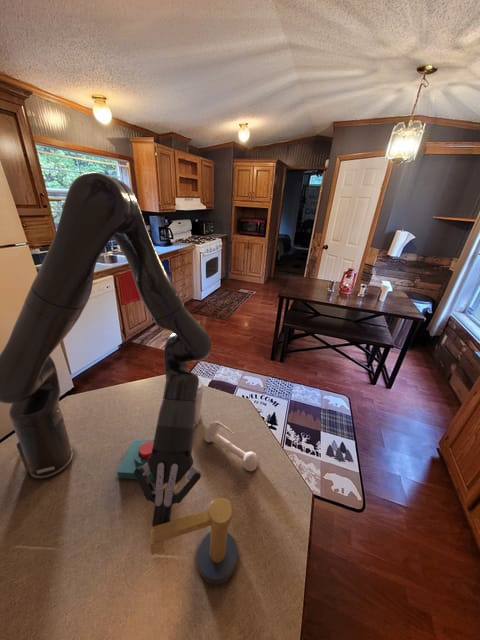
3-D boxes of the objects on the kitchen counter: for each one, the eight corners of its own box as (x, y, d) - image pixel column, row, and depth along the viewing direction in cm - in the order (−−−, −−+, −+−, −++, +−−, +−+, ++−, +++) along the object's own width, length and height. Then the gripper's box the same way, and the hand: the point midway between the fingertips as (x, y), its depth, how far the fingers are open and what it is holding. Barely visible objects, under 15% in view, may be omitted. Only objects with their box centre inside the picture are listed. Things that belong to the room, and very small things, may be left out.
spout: (227, 510, 50) (228, 495, 48) (233, 535, 46) (235, 518, 44) (151, 534, 45) (149, 518, 43) (151, 563, 41) (149, 547, 40)
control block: (118, 478, 65) (116, 467, 63) (134, 445, 74) (132, 435, 73) (165, 481, 65) (164, 470, 63) (175, 447, 74) (174, 437, 73)
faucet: (245, 482, 71) (258, 465, 66) (201, 437, 77) (210, 419, 72) (252, 471, 74) (266, 454, 69) (209, 429, 80) (218, 411, 75)
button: (137, 458, 66) (136, 454, 66) (143, 445, 70) (142, 441, 69) (152, 459, 66) (152, 455, 66) (157, 446, 70) (157, 442, 69)
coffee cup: (169, 418, 84) (167, 381, 79) (193, 405, 91) (193, 370, 85) (184, 436, 78) (183, 398, 72) (209, 421, 84) (210, 385, 78)
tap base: (194, 583, 48) (194, 544, 43) (200, 533, 55) (201, 495, 50) (236, 586, 48) (241, 547, 43) (237, 536, 55) (241, 498, 50)
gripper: (137, 422, 48) (113, 536, 41) (207, 427, 48) (194, 542, 41) (149, 421, 54) (130, 519, 48) (210, 426, 55) (199, 524, 48)
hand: (160, 529), depth 45 cm, fingers closed
